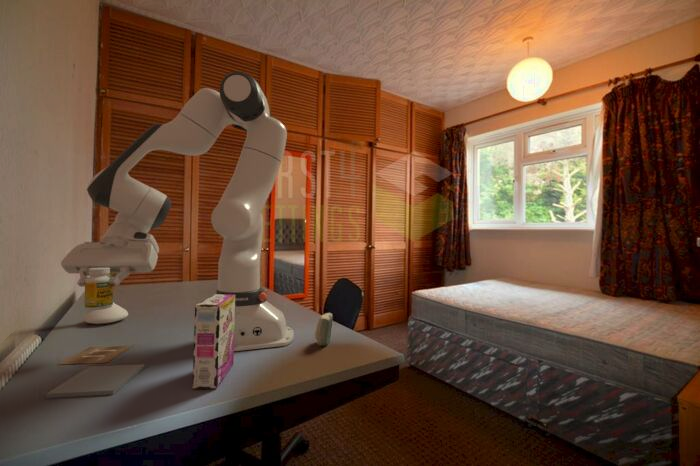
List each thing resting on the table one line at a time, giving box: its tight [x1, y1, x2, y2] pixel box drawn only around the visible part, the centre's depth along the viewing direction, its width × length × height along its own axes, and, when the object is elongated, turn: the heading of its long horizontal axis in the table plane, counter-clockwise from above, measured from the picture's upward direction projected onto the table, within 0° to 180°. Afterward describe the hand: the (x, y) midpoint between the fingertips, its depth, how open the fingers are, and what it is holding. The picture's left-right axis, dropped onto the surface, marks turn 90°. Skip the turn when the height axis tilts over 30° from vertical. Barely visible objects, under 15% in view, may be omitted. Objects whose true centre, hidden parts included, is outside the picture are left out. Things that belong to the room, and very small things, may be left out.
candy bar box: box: [192, 293, 236, 390], centre depth 64 cm, size 11×5×16 cm, turn 5°
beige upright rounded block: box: [314, 312, 334, 348], centre depth 83 cm, size 6×5×8 cm
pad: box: [45, 363, 146, 399], centre depth 61 cm, size 11×11×1 cm
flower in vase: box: [83, 273, 129, 325], centre depth 99 cm, size 13×11×25 cm
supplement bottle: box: [84, 267, 114, 311], centre depth 74 cm, size 5×5×10 cm
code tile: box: [58, 345, 133, 366], centre depth 74 cm, size 10×10×1 cm
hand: (97, 285), depth 73 cm, fingers closed on supplement bottle, 5 cm apart
